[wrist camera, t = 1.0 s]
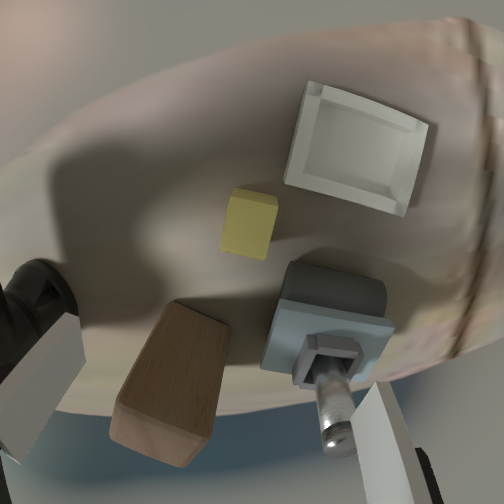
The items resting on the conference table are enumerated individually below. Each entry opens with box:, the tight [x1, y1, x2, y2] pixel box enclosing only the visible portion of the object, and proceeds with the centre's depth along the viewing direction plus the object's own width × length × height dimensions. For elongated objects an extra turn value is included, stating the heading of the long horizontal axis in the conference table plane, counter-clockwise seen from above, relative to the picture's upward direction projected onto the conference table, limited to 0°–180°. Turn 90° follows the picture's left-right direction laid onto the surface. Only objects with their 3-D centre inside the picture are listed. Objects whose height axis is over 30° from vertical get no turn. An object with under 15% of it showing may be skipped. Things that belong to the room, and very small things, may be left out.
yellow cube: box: [219, 187, 279, 261], centre depth 33 cm, size 5×6×6 cm
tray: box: [283, 81, 428, 218], centre depth 30 cm, size 15×12×4 cm
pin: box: [311, 354, 357, 458], centre depth 26 cm, size 4×4×13 cm
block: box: [109, 302, 231, 468], centre depth 34 cm, size 10×10×20 cm
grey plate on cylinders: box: [260, 261, 395, 390], centre depth 35 cm, size 14×15×12 cm
